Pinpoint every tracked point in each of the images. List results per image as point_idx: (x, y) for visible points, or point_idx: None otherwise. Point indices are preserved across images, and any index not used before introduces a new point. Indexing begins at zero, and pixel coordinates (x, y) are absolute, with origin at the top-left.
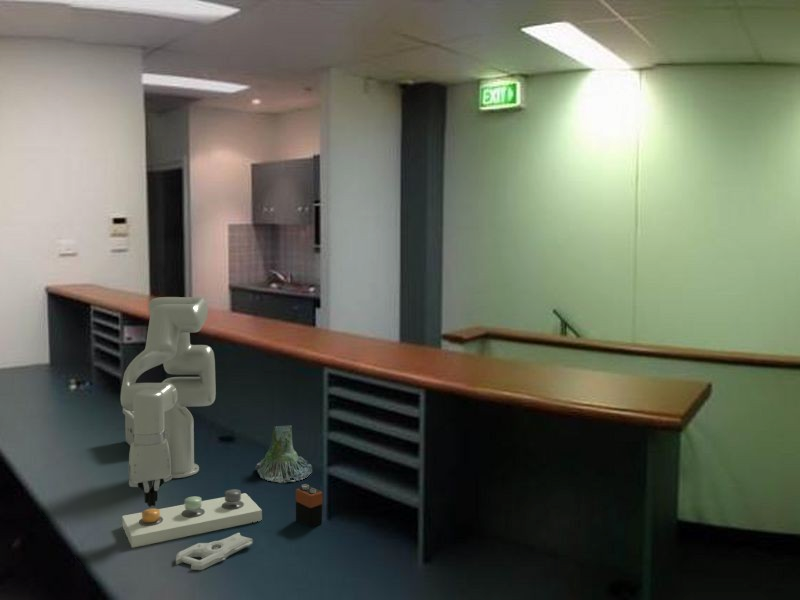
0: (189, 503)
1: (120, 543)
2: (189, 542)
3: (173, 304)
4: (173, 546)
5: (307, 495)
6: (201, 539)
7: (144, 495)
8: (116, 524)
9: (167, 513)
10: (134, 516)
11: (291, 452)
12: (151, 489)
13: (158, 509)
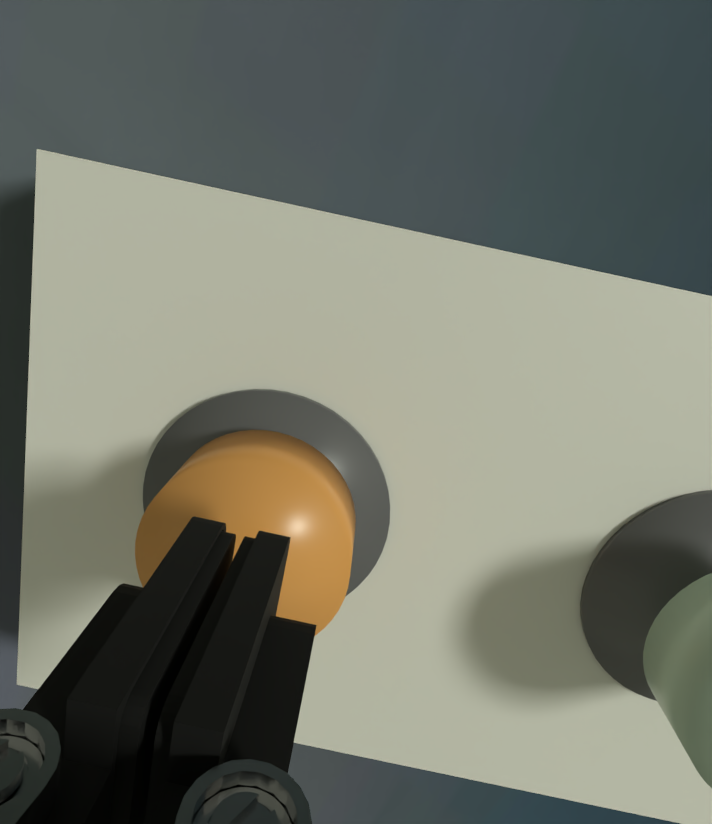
0: (698, 769)
1: (13, 495)
2: (439, 784)
3: None
4: (324, 767)
5: None
6: (528, 797)
7: (71, 650)
8: (63, 54)
9: (494, 438)
10: (157, 268)
11: None
12: (167, 789)
13: (347, 560)
